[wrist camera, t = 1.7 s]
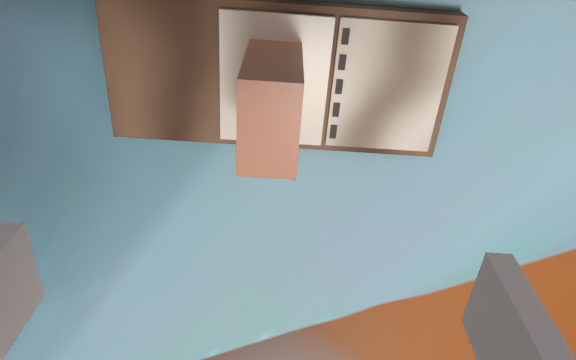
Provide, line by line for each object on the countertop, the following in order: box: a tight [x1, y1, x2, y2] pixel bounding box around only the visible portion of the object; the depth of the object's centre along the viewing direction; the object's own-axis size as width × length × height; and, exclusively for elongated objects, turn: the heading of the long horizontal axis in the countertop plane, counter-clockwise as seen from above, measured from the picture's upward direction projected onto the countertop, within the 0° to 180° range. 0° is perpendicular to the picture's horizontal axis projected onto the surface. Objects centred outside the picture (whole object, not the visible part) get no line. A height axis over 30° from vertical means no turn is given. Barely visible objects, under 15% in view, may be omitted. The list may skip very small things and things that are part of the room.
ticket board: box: [95, 0, 468, 157], centre depth 29 cm, size 21×9×2 cm, turn 86°
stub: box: [219, 8, 335, 180], centre depth 25 cm, size 6×8×7 cm
